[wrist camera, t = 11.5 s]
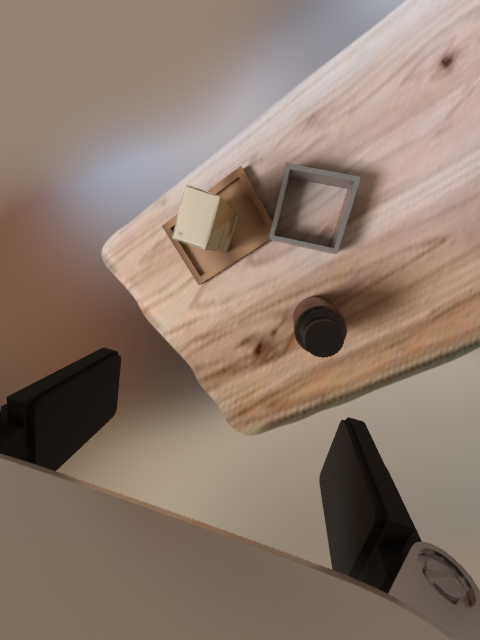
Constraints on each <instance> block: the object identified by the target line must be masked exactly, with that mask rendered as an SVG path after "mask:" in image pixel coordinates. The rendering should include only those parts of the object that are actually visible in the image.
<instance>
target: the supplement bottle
mask: <svg viewBox="0 0 480 640" xmlns="http://www.w3.org/2000/svg"><path fill="white" fill-rule="evenodd" d="M293 320H294V334H295V338H296V340H297V342H298V344H299V345H300V346H301V347H302V348H303V349H304V350H306V351H308V352H310V353H311V354H313V355H315V356H318V357H322V358H324V357H330V356H332V355H335V354H336V353H338V351H339V350H340V349H341V348H342V346H343V344H344V340H345V338H346V334H347V325H346V322H345V320H344V318H343V316H342V315H341V313H340V312H339V311H338V310H337V309H336V308H335V307H334V305H333V304H332V303H331V302H329V301H328V300H326V299H324V298H321V297H310V298H307V299H305V300H303V301H302V302H300V303H299V304H298V306H297V307H296V309H295V312H294V317H293Z"/></svg>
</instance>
